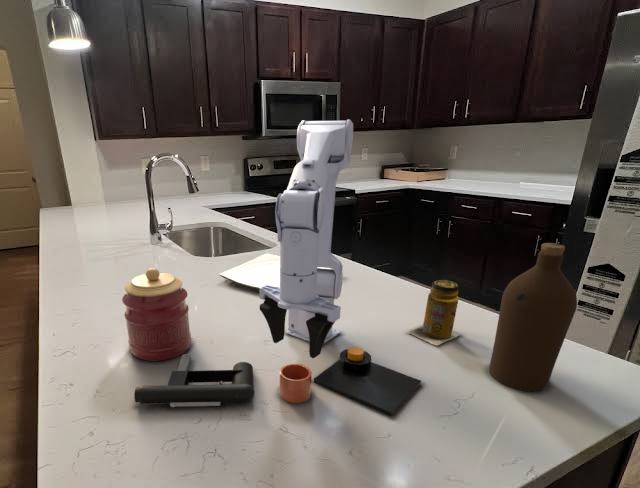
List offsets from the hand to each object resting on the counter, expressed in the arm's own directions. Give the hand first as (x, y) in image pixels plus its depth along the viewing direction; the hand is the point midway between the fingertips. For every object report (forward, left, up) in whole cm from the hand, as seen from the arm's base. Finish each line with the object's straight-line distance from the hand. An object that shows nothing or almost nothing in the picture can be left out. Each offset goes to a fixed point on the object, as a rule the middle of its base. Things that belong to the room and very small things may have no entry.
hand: (296, 347), depth 70 cm
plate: (-40, +45, -9) cm, 61 cm away
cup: (0, 0, -9) cm, 9 cm away
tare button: (+3, +15, -7) cm, 17 cm away
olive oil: (+28, +31, -9) cm, 43 cm away
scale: (+8, +11, -9) cm, 16 cm away
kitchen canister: (-32, -5, -9) cm, 34 cm away
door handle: (-15, -9, -9) cm, 20 cm away
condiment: (+10, +38, -9) cm, 40 cm away
